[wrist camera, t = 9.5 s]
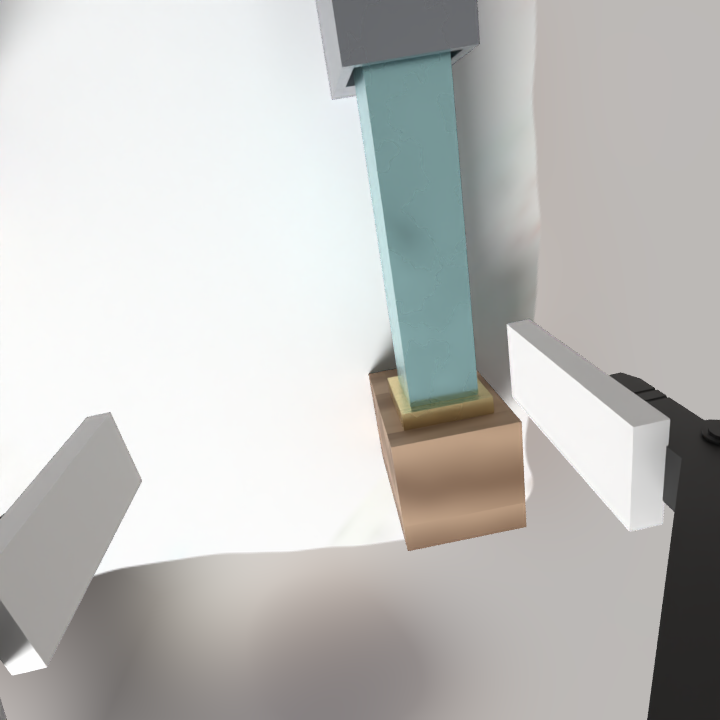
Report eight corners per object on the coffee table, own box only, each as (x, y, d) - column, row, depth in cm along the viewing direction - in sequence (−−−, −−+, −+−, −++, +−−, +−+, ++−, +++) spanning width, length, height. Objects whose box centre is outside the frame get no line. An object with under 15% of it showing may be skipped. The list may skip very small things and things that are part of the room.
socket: (368, 374, 39) (391, 447, 29) (464, 355, 40) (521, 421, 29) (382, 456, 42) (408, 551, 32) (471, 438, 43) (526, 526, 32)
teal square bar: (332, 29, 27) (338, -7, 22) (432, 12, 27) (463, -28, 22) (398, 451, 38) (414, 497, 32) (471, 436, 38) (498, 480, 32)
